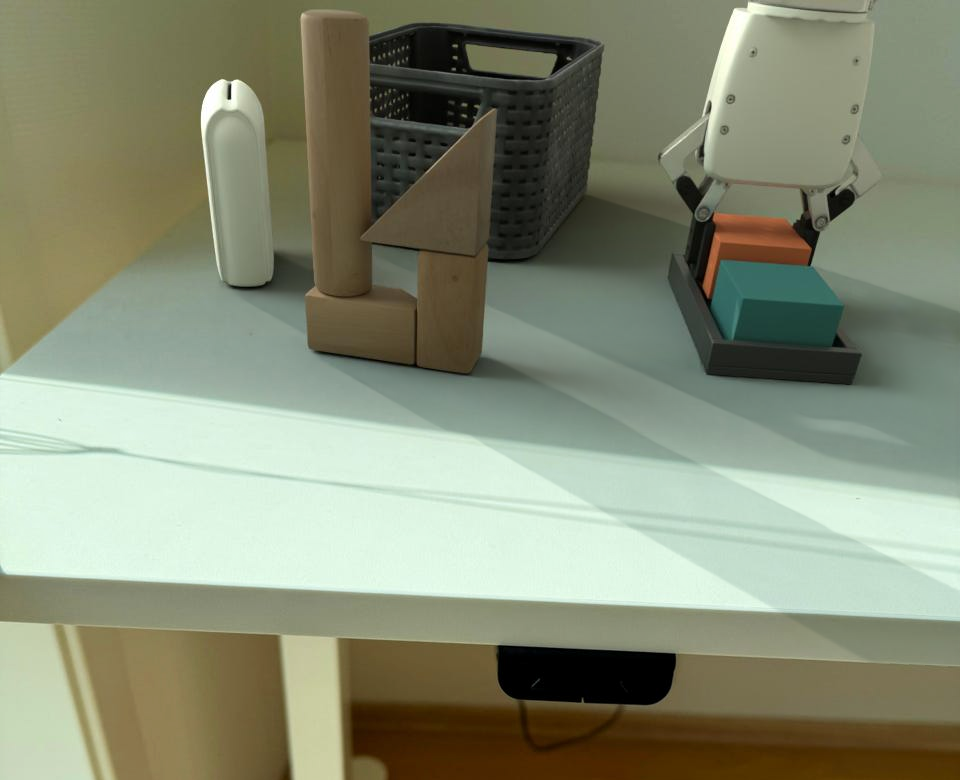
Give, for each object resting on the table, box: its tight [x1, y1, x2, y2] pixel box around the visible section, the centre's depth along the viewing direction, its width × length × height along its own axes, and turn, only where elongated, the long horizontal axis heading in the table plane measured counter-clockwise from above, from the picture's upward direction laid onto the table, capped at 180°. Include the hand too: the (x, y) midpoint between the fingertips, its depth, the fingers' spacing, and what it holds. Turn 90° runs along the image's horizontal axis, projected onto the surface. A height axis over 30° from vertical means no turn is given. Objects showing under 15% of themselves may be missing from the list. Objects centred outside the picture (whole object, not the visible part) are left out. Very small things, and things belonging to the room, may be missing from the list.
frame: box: [666, 251, 863, 385], centre depth 67 cm, size 20×10×2 cm, turn 178°
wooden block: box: [300, 8, 497, 375], centre depth 54 cm, size 4×11×18 cm, turn 77°
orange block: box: [698, 212, 812, 299], centre depth 69 cm, size 6×8×4 cm
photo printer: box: [200, 78, 275, 288], centre depth 67 cm, size 10×4×12 cm, turn 11°
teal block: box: [710, 260, 845, 347], centre depth 62 cm, size 6×8×4 cm
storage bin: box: [369, 21, 605, 261], centre depth 83 cm, size 29×19×13 cm
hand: (743, 275), depth 69 cm, fingers closed on orange block, 6 cm apart
